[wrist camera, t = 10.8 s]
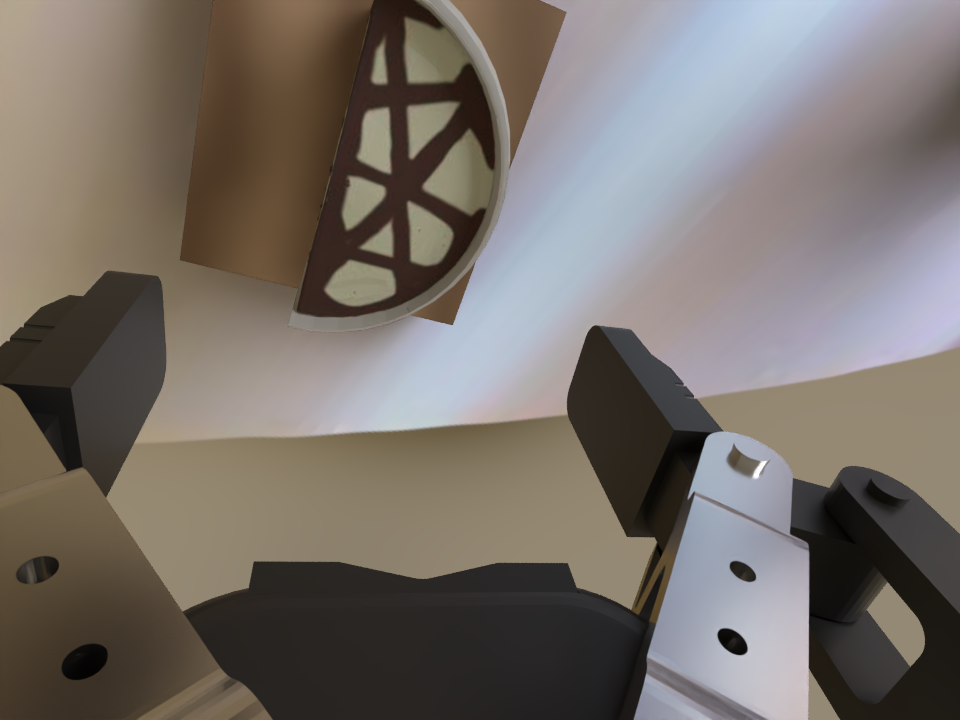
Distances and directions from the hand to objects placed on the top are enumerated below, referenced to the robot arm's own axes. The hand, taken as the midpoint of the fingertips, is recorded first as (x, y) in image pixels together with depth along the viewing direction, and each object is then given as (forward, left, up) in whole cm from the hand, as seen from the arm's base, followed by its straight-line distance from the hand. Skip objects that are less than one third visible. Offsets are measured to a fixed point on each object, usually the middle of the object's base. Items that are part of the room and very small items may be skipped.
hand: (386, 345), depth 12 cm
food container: (-2, 0, -19) cm, 19 cm away
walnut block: (0, 0, -24) cm, 24 cm away
